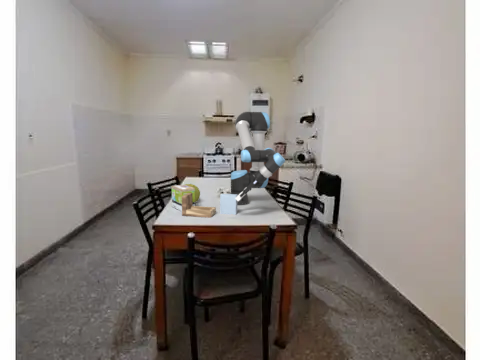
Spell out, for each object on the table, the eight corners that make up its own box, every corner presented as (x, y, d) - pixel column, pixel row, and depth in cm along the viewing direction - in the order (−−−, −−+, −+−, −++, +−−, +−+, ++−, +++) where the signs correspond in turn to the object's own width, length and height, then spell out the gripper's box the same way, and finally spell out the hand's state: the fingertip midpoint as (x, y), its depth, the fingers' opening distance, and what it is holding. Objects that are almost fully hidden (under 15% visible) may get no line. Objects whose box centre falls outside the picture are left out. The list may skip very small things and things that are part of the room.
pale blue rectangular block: (221, 212, 213) (221, 193, 212) (237, 213, 212) (237, 194, 210) (220, 213, 209) (220, 194, 207) (235, 214, 207) (236, 195, 206)
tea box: (171, 207, 225) (171, 185, 222) (184, 205, 230) (184, 184, 228) (181, 211, 213) (181, 188, 210) (195, 209, 218) (195, 187, 216)
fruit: (194, 206, 227) (183, 187, 224) (180, 211, 236) (169, 192, 233) (207, 195, 240) (197, 177, 237) (194, 200, 249) (184, 182, 246)
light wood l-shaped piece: (188, 211, 214) (188, 192, 212) (215, 212, 211) (216, 194, 209) (182, 215, 203) (181, 196, 201) (210, 217, 199) (210, 197, 197)
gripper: (265, 181, 189) (239, 206, 194) (269, 176, 214) (246, 198, 218) (256, 172, 189) (230, 197, 194) (261, 167, 214) (238, 189, 219)
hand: (238, 197), depth 206 cm, fingers open, 13 cm apart
